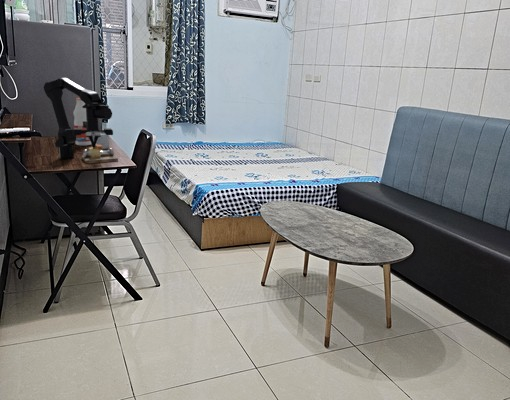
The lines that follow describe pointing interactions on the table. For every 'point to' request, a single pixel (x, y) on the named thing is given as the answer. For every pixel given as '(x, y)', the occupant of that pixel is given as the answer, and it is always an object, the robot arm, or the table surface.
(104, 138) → the medicine box
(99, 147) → the valve lever
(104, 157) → the valve board
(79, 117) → the fruit juice
